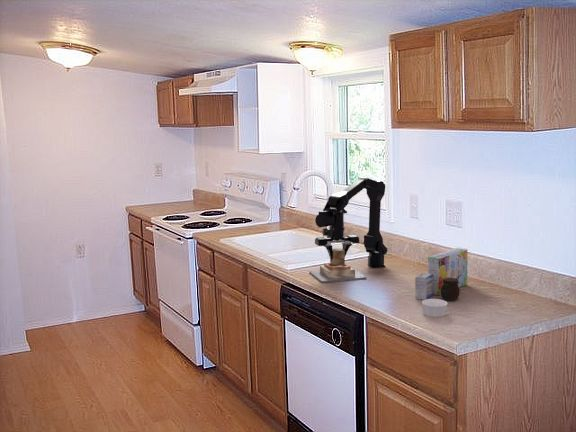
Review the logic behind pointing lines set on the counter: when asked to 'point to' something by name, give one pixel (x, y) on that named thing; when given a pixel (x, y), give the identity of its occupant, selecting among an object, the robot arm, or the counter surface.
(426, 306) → the ramekin
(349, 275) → the socket plinth
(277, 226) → the counter surface
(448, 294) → the mate gourd
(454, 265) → the snack box
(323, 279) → the grey base plate
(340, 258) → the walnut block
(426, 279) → the medicine box
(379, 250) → the robot arm
